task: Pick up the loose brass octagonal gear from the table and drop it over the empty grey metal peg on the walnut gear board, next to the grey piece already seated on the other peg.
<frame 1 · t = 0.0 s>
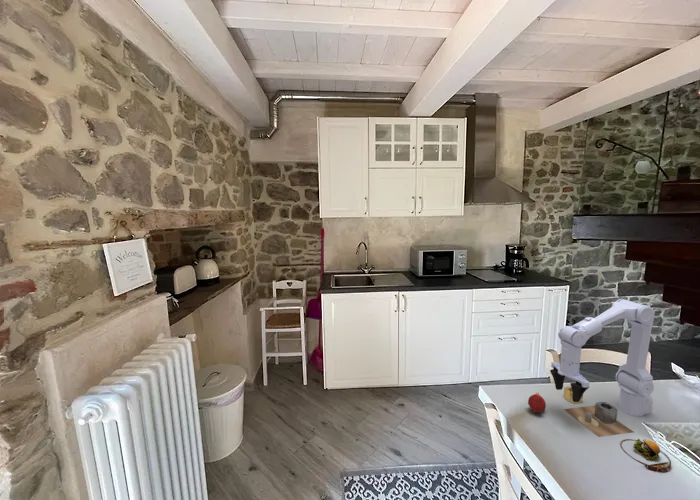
hand: (567, 395, 115), 10 cm above the table, fingers open, 7 cm apart
onion: (536, 412, 121), on the table
brass gear: (572, 401, 128), on the table
burger: (644, 458, 99), on the table
gear board: (596, 423, 115), on the table
grey piece: (605, 418, 115), point 1 cm above the table, touching gear board
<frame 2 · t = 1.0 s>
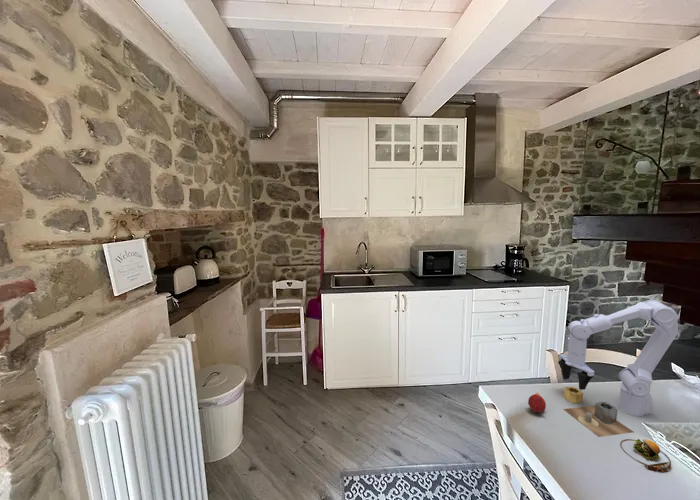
hand: (573, 383, 127), 8 cm above the table, fingers open, 7 cm apart
nothing on the table moved.
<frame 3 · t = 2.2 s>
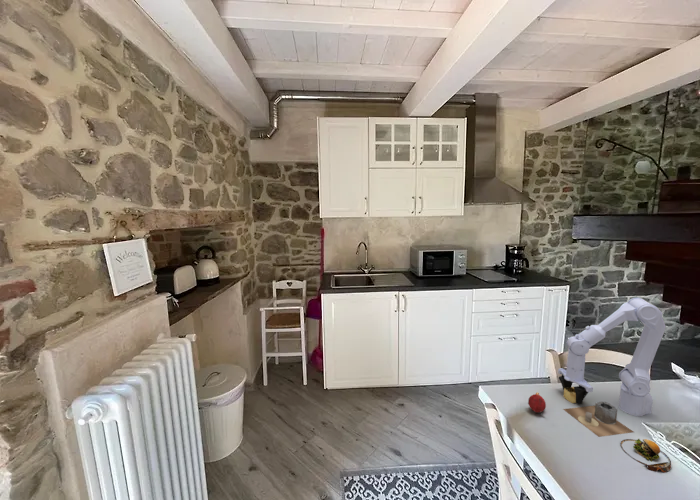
hand: (572, 398, 127), 1 cm above the table, fingers closed on brass gear, 5 cm apart
brass gear: (572, 401, 128), on the table, touching gripper
everything else where it was.
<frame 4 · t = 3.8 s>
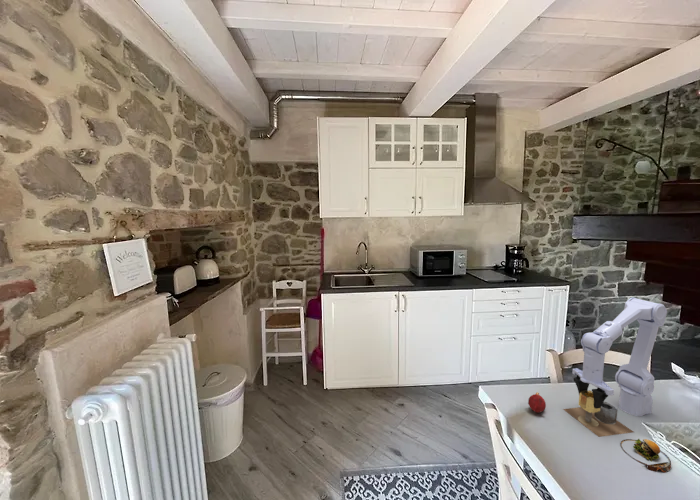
hand: (589, 402, 113), 8 cm above the table, fingers closed on brass gear, 5 cm apart
brass gear: (588, 407, 114), point 6 cm above the table, touching gripper
everything else where it was.
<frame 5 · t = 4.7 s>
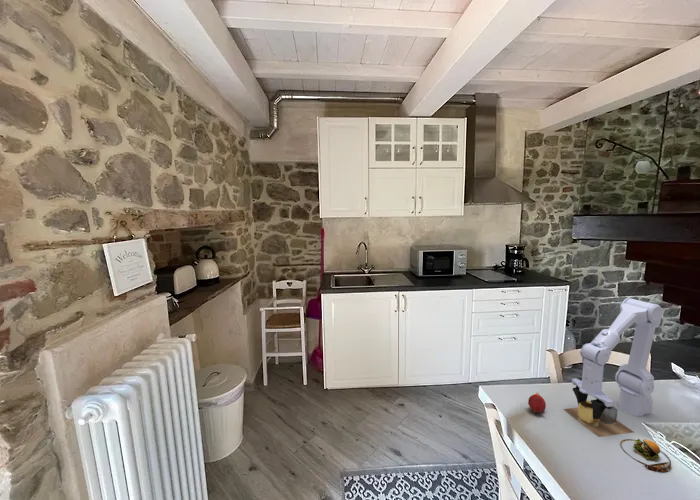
hand: (588, 413, 114), 4 cm above the table, fingers closed on brass gear, 5 cm apart
brass gear: (588, 418, 114), point 2 cm above the table, touching gripper
everything else where it was.
when the fingers open (4 cm above the table, at t = 5.4 s): brass gear stays where it is, resting on gear board.
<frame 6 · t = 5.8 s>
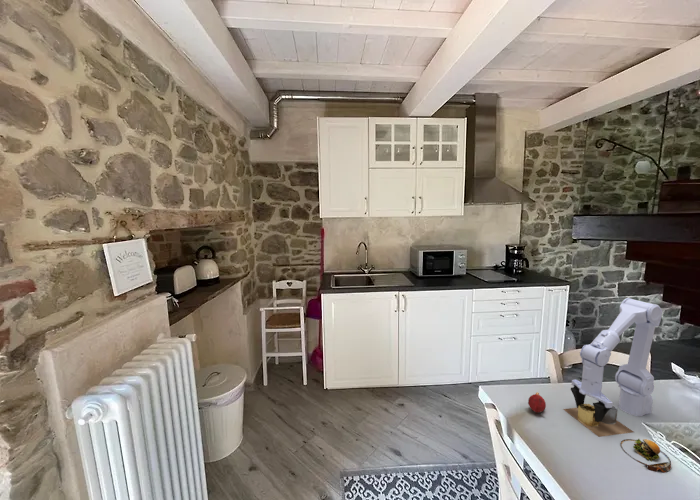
hand: (588, 414, 114), 4 cm above the table, fingers open, 7 cm apart
brass gear: (588, 421, 114), point 1 cm above the table, touching gear board
everything else where it was.
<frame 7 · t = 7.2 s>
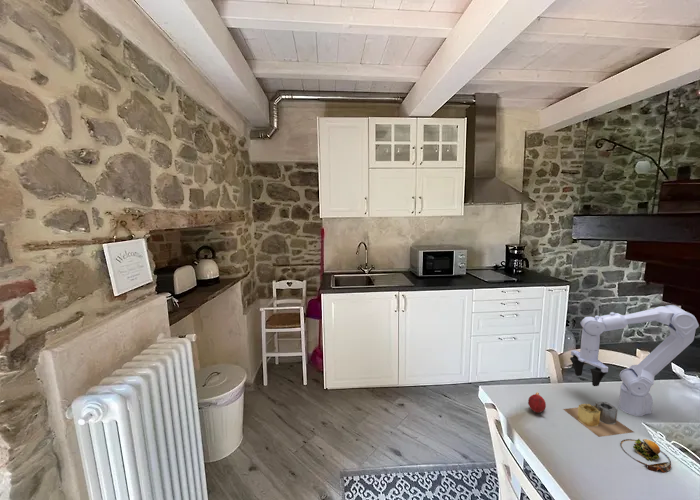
hand: (586, 380, 125), 10 cm above the table, fingers open, 7 cm apart
nothing on the table moved.
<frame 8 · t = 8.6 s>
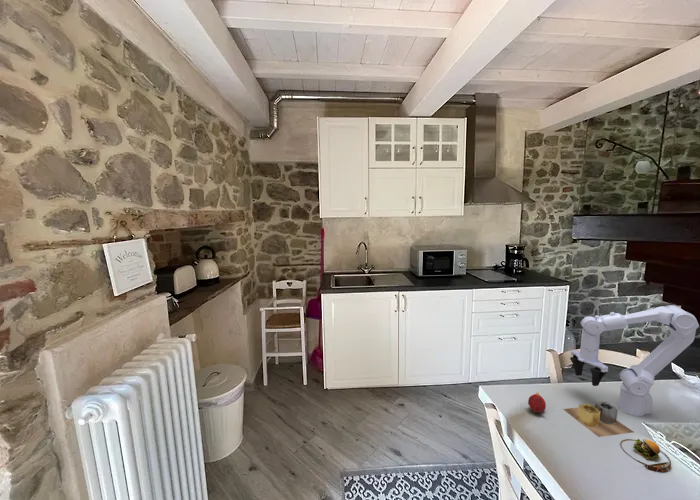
hand: (586, 380, 125), 10 cm above the table, fingers open, 7 cm apart
nothing on the table moved.
at the end: brass gear 0.1 cm from the target spot, point 1.2 cm above the table; brass gear tilted 0°; grey piece moved 0.0 cm from its start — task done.
